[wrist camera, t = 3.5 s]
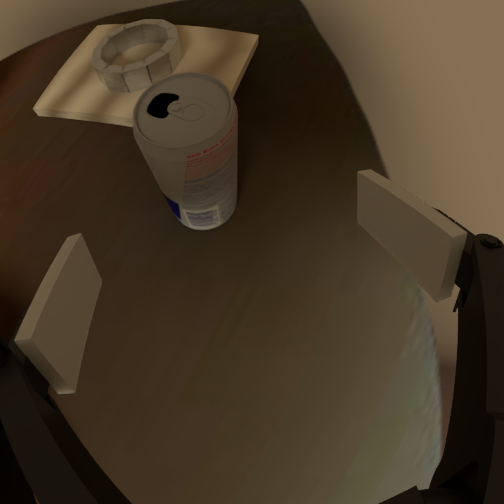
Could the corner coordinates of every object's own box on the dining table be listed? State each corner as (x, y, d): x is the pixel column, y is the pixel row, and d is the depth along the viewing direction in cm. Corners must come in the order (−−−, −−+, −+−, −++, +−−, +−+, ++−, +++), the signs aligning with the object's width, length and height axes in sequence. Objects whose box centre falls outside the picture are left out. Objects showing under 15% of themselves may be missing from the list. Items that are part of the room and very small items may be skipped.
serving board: (38, 115, 27) (32, 108, 25) (100, 32, 30) (97, 25, 29) (213, 142, 26) (212, 133, 25) (257, 44, 30) (258, 35, 28)
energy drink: (188, 163, 26) (162, 62, 14) (246, 183, 26) (254, 83, 14) (161, 218, 25) (108, 136, 13) (221, 241, 24) (208, 167, 13)
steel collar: (86, 89, 26) (76, 71, 23) (125, 37, 28) (119, 19, 25) (158, 96, 26) (152, 75, 23) (194, 41, 28) (191, 21, 25)
